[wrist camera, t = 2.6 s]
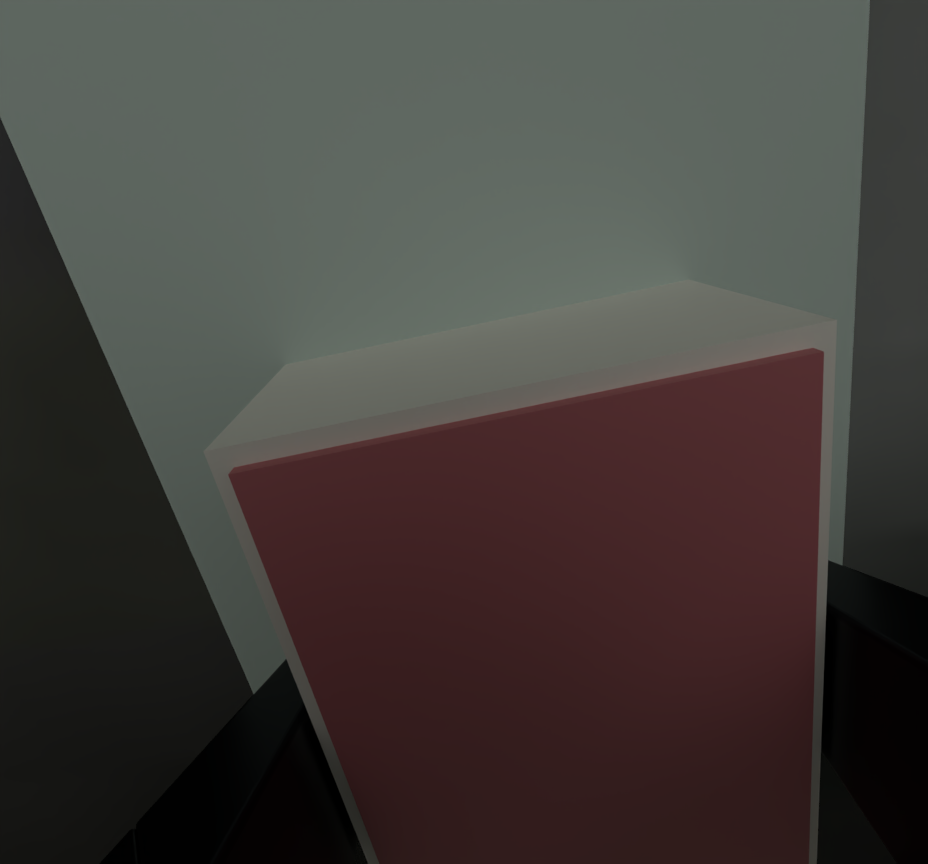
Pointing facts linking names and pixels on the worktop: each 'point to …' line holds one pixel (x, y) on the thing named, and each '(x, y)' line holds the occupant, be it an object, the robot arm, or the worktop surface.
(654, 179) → the mat
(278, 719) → the robot arm
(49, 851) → the worktop surface
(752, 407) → the card deck
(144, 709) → the worktop surface
